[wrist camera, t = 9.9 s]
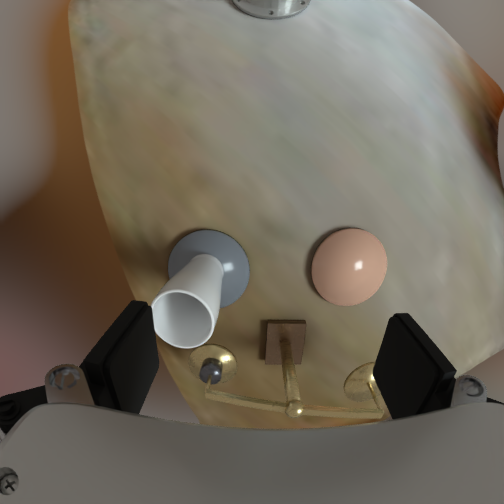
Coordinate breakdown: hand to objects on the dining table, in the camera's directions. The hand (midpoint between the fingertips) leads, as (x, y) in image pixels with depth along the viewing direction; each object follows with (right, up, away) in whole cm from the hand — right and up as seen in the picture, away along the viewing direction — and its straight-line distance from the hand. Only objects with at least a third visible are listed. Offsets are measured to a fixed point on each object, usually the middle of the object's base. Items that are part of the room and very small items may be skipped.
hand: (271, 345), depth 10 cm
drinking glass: (-7, +1, +31) cm, 32 cm away
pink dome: (+14, +1, +31) cm, 34 cm away
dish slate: (-7, +1, +32) cm, 32 cm away
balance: (+5, -11, +35) cm, 37 cm away
